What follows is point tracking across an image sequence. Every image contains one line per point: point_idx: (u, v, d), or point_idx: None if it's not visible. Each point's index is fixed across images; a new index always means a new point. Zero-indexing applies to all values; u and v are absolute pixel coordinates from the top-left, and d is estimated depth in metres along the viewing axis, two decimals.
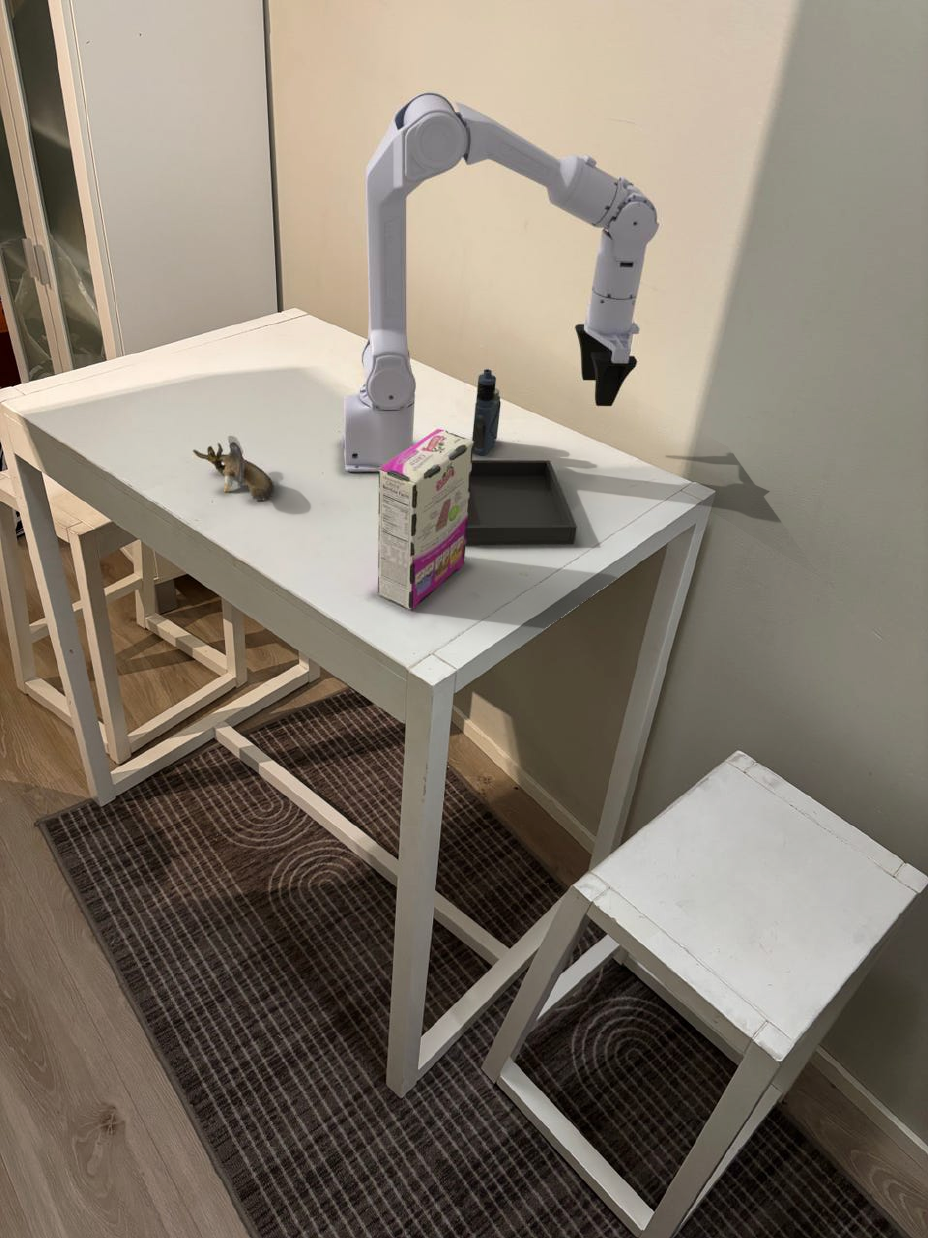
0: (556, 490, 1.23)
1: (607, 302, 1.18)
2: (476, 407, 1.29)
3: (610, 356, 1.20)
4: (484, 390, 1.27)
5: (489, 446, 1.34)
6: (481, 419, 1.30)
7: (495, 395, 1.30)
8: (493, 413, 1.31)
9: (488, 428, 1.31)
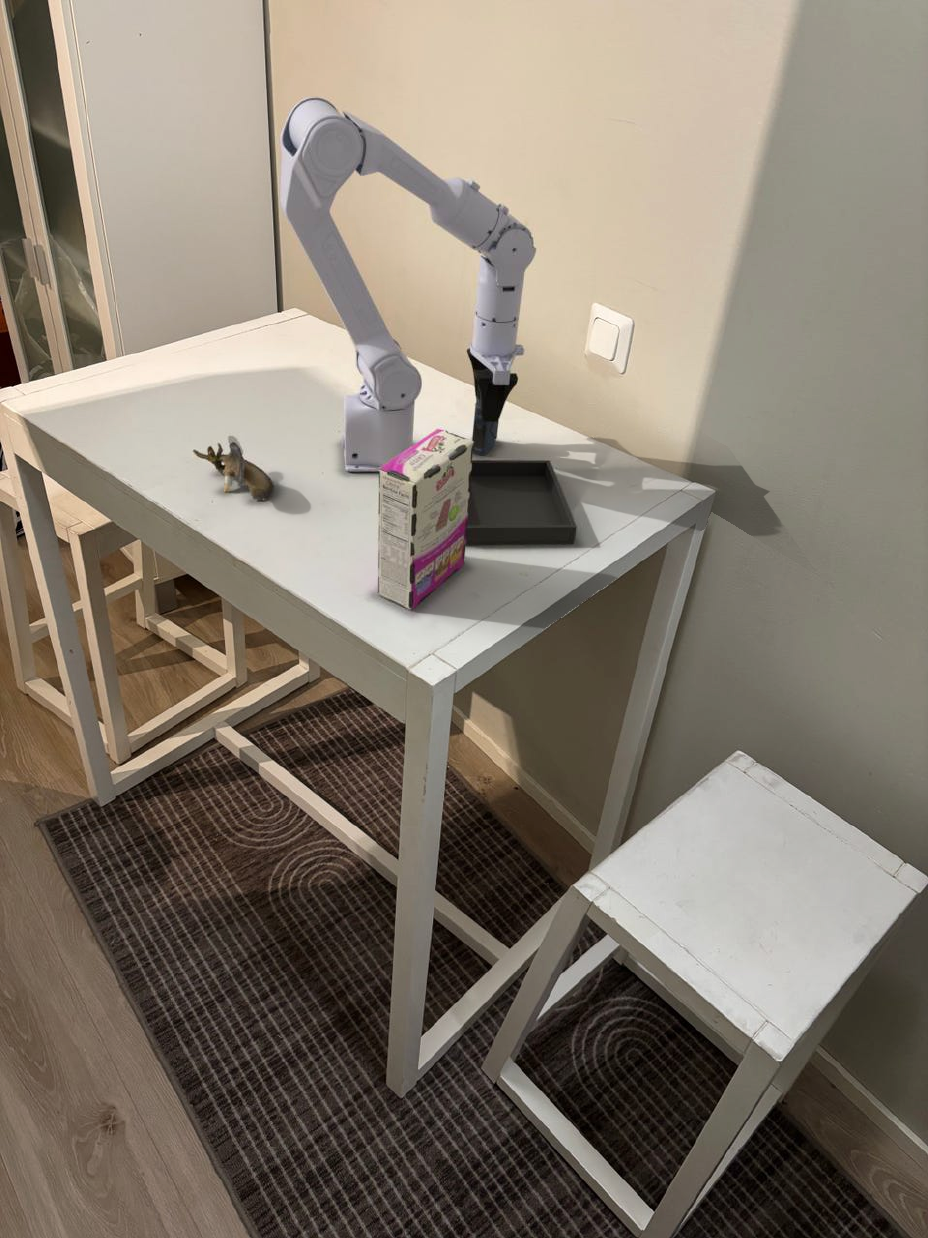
0: (556, 490, 1.23)
1: (488, 325, 1.21)
2: (476, 407, 1.29)
3: (491, 374, 1.23)
4: None
5: (489, 446, 1.34)
6: (481, 419, 1.30)
7: None
8: None
9: (488, 428, 1.31)
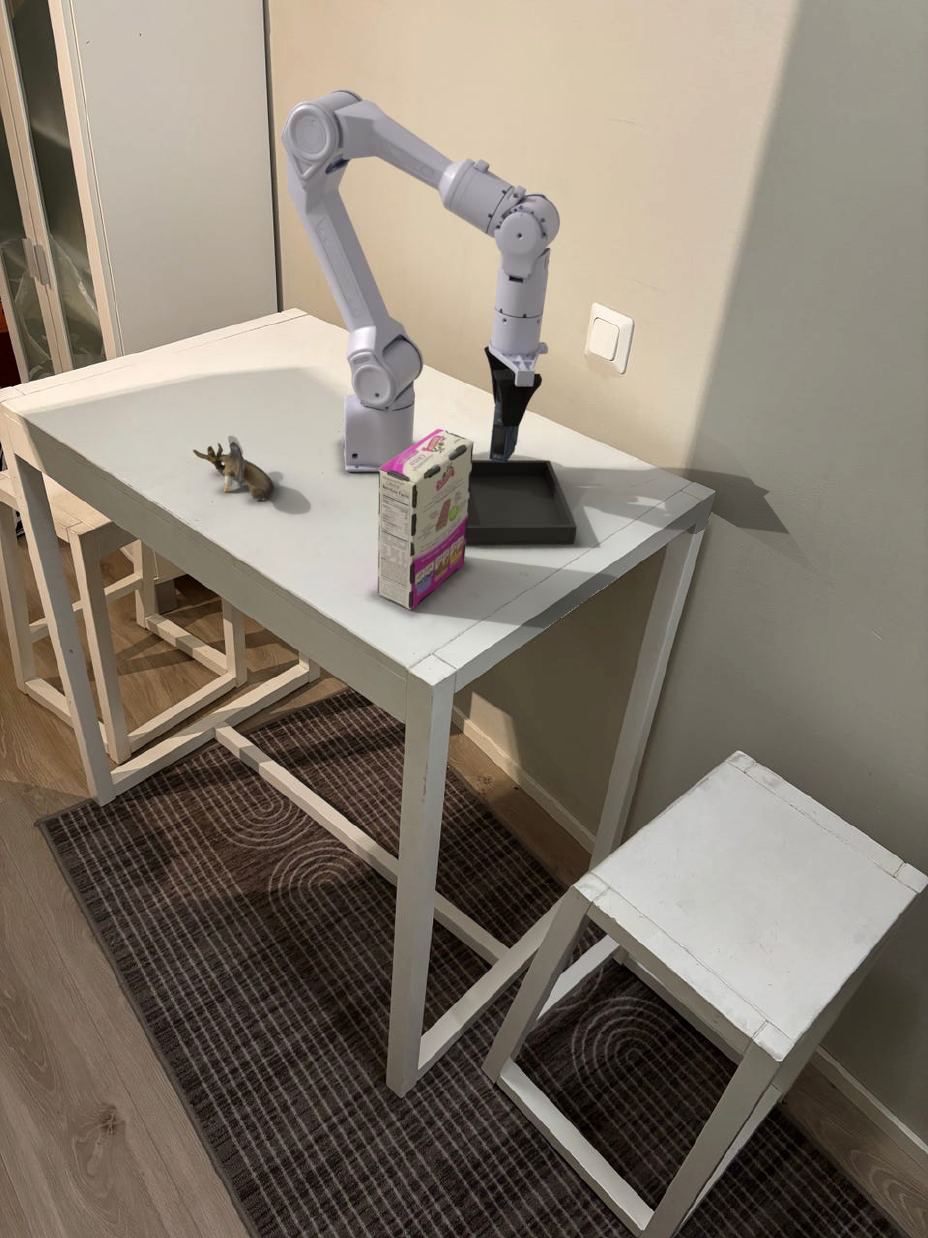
0: (556, 490, 1.23)
1: (510, 321, 1.10)
2: (495, 411, 1.18)
3: (512, 374, 1.12)
4: None
5: (509, 453, 1.23)
6: (501, 424, 1.19)
7: None
8: None
9: (508, 433, 1.20)
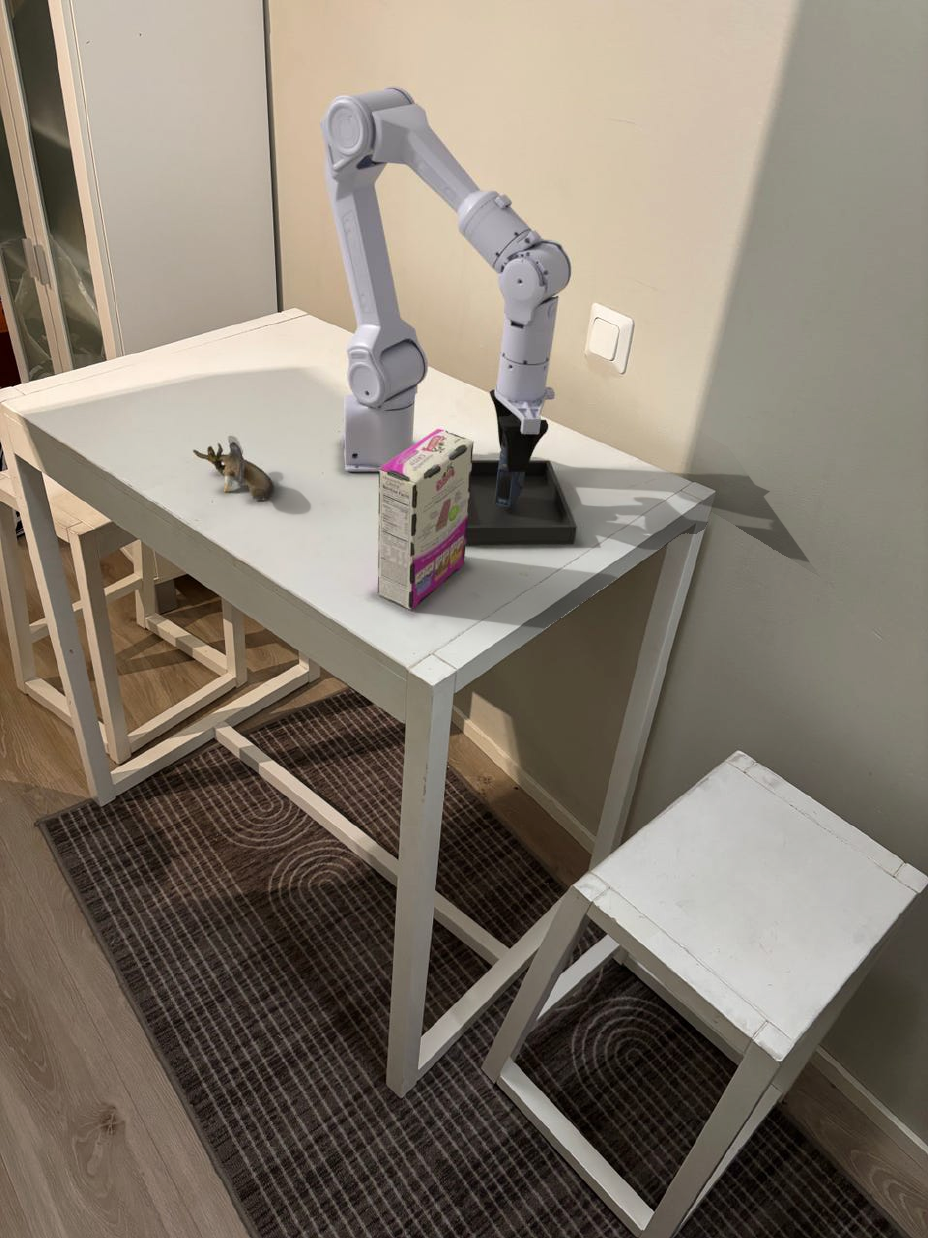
0: (556, 490, 1.23)
1: (516, 367, 1.08)
2: (501, 456, 1.16)
3: (518, 421, 1.10)
4: None
5: (514, 498, 1.21)
6: (506, 469, 1.17)
7: None
8: None
9: (514, 478, 1.18)
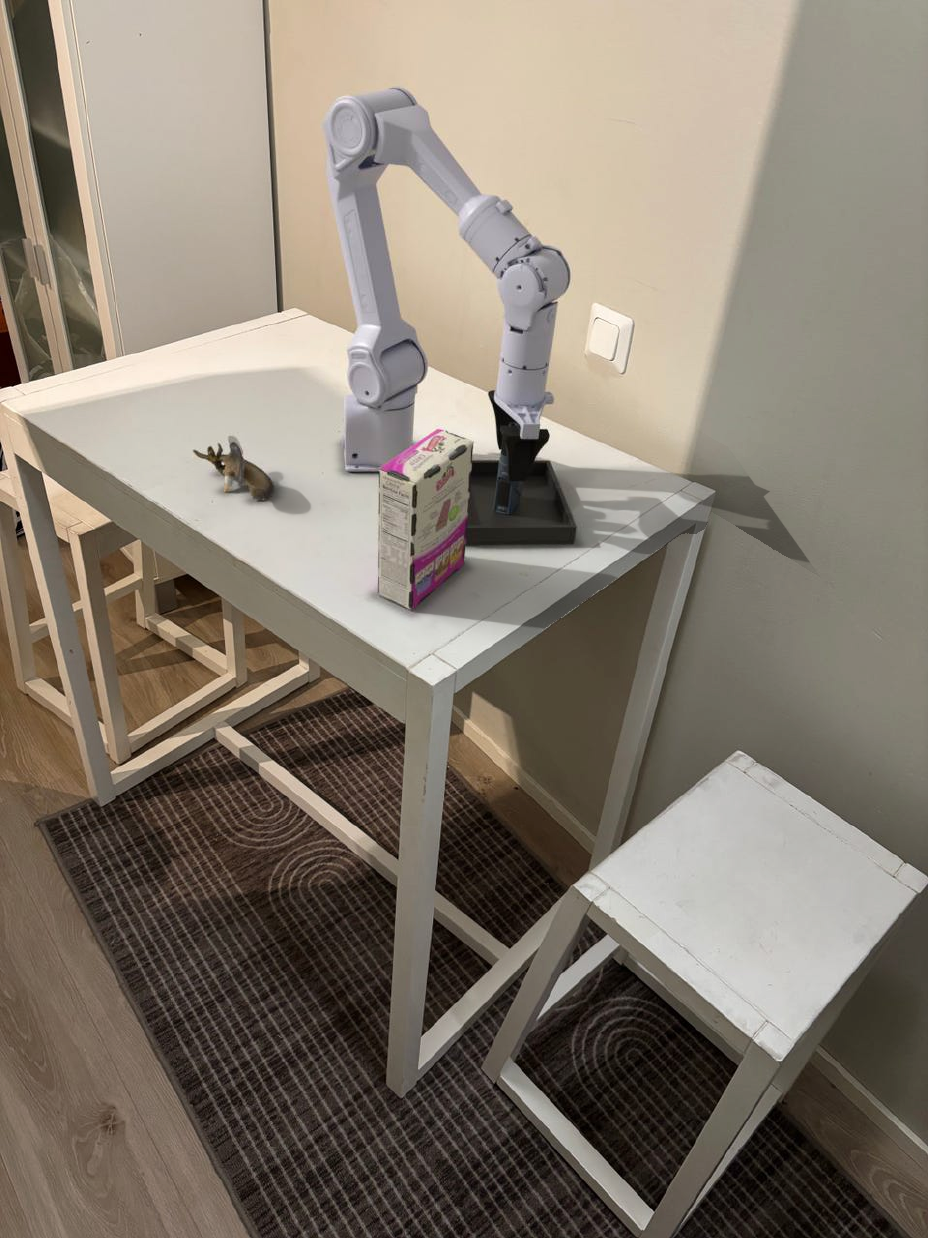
0: (556, 490, 1.23)
1: (515, 372, 1.09)
2: (500, 463, 1.17)
3: (519, 431, 1.10)
4: None
5: (513, 505, 1.21)
6: (505, 476, 1.17)
7: None
8: None
9: (513, 486, 1.18)
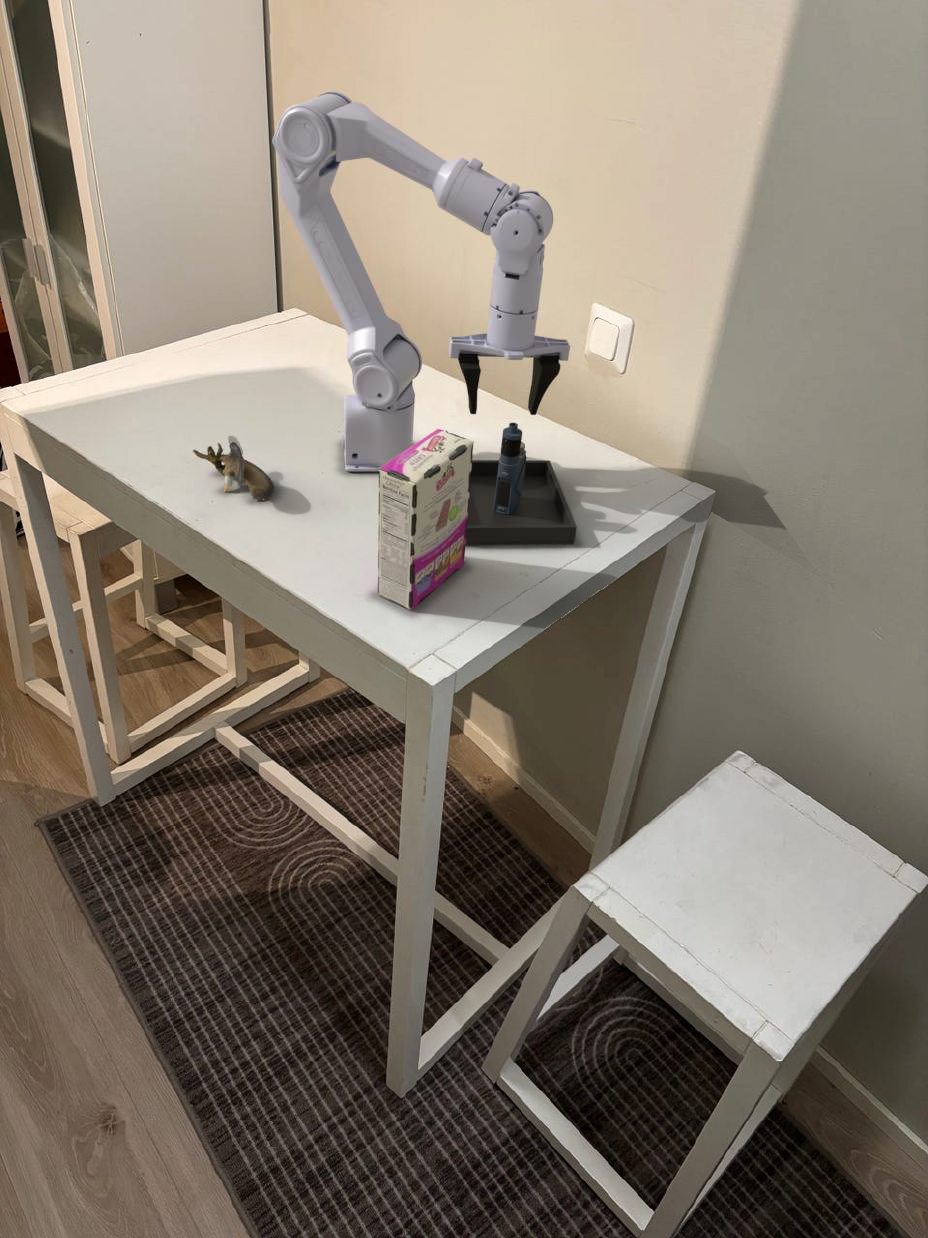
0: (556, 490, 1.23)
1: None
2: (500, 463, 1.17)
3: None
4: (509, 445, 1.15)
5: (513, 505, 1.21)
6: (505, 476, 1.17)
7: (521, 450, 1.18)
8: (518, 470, 1.18)
9: (513, 486, 1.18)
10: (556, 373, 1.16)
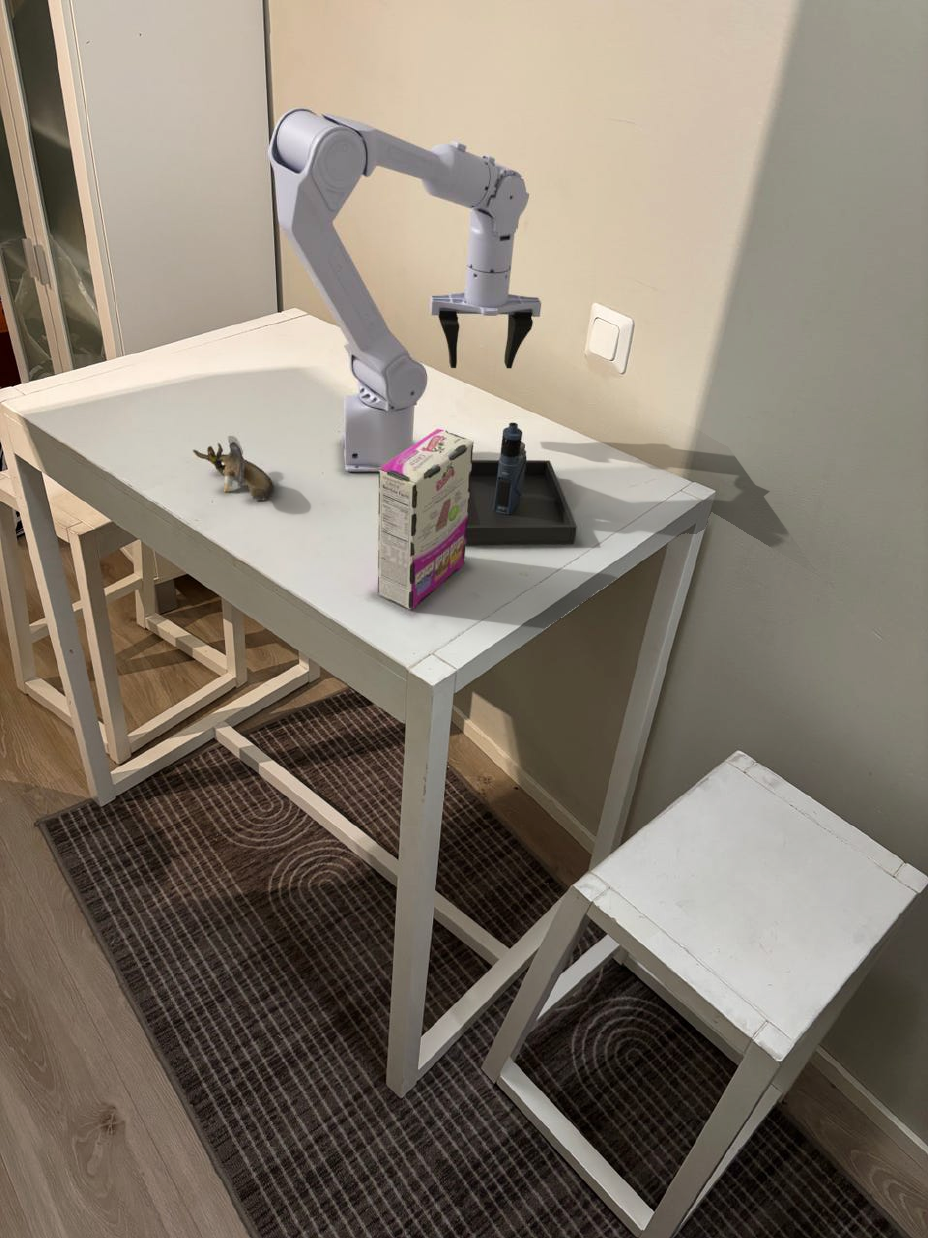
0: (556, 490, 1.23)
1: None
2: (500, 463, 1.17)
3: None
4: (509, 445, 1.15)
5: (513, 505, 1.21)
6: (505, 476, 1.17)
7: (521, 450, 1.18)
8: (518, 470, 1.18)
9: (513, 486, 1.18)
10: (529, 328, 1.27)
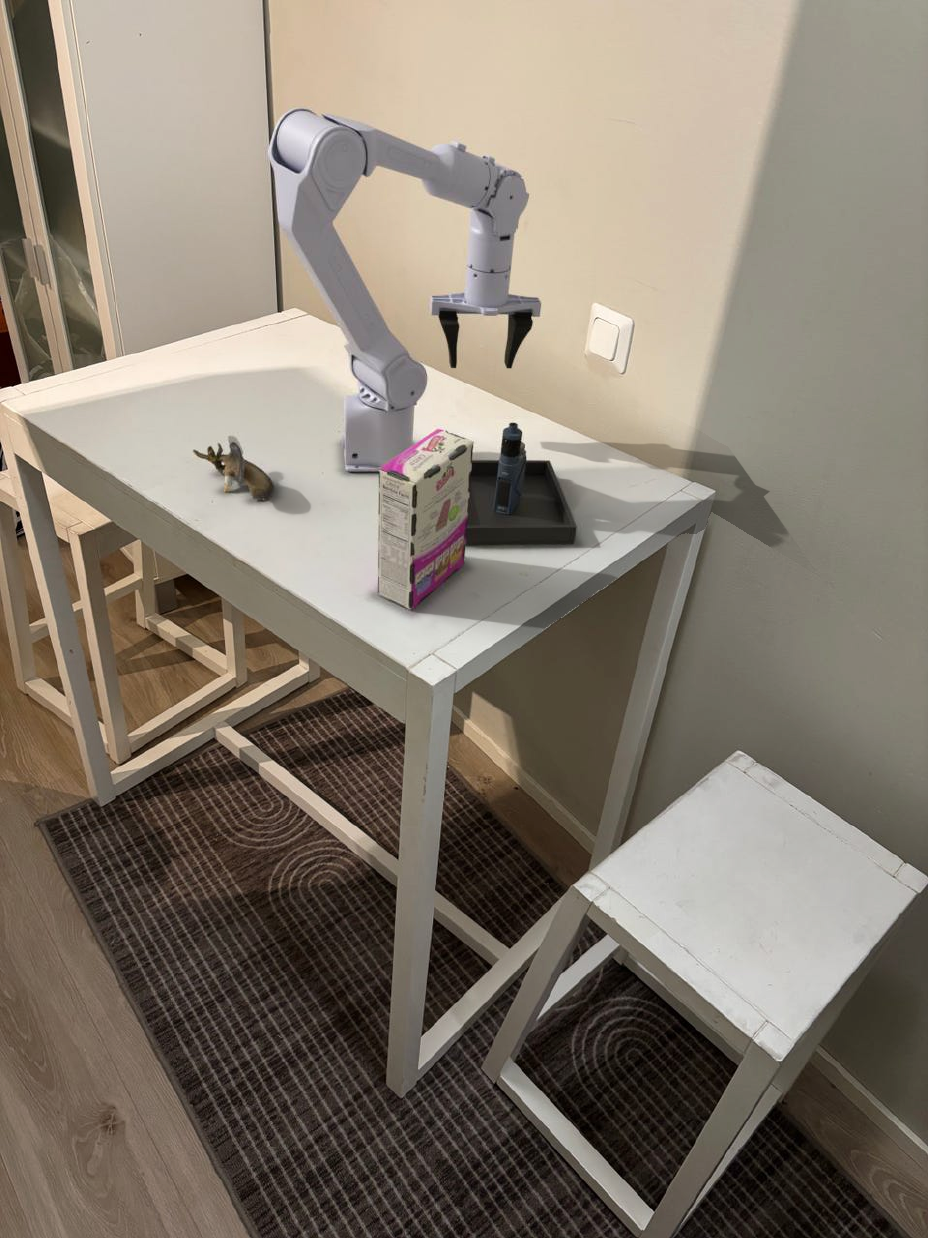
0: (556, 490, 1.23)
1: None
2: (500, 463, 1.17)
3: None
4: (509, 445, 1.15)
5: (513, 505, 1.21)
6: (505, 476, 1.17)
7: (521, 450, 1.18)
8: (518, 470, 1.18)
9: (513, 486, 1.18)
10: (529, 328, 1.27)
